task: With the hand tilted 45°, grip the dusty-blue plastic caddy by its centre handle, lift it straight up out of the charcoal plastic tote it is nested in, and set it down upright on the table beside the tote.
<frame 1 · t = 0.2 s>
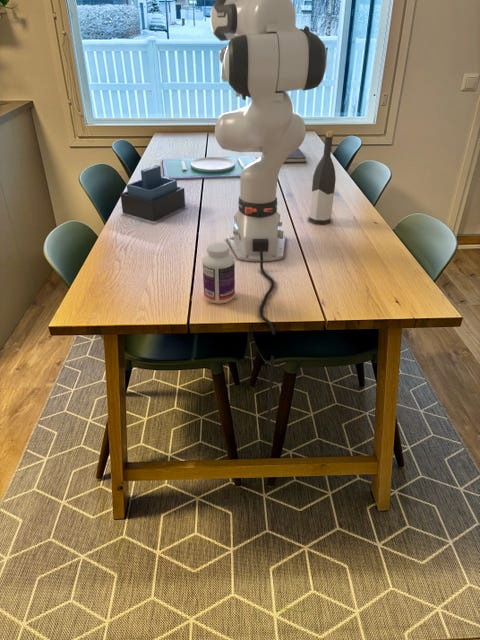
hand: (252, 96, 150), 39 cm above the table, tool pointing down, fingers open, 8 cm apart
tote: (154, 211, 172), on the table
wine bottle: (319, 220, 167), on the table
pill bottle: (219, 297, 123), on the table
place mat: (212, 168, 218), on the table
caddy: (154, 209, 171), point 1 cm above the table, touching tote
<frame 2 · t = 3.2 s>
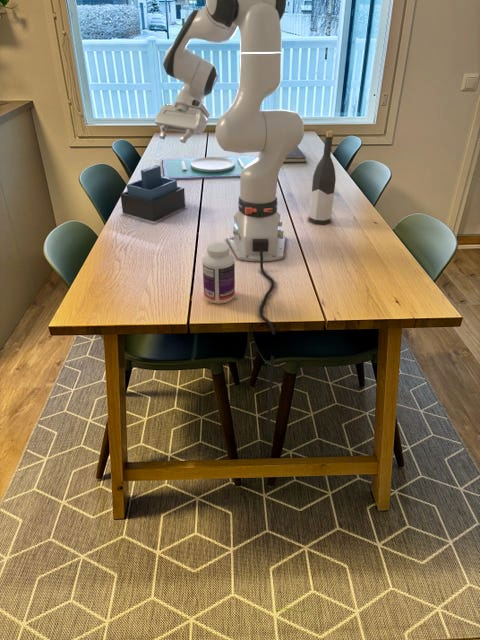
hand: (171, 140, 168), 23 cm above the table, tool tilted 45°, fingers open, 8 cm apart
nothing on the table moved.
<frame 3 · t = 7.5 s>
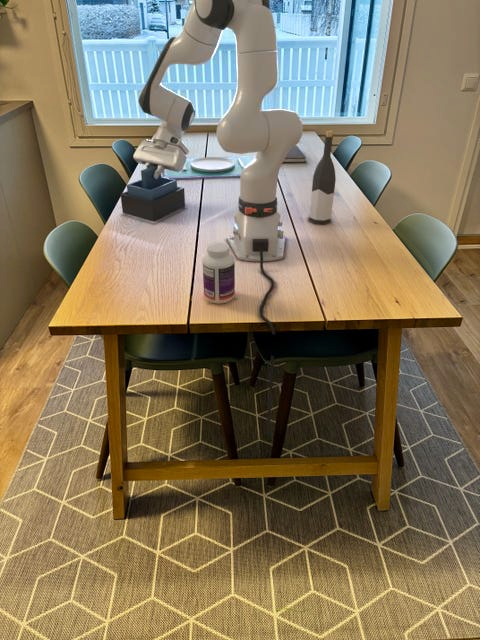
hand: (150, 177, 164), 13 cm above the table, tool tilted 45°, fingers closed on caddy
caddy: (154, 209, 171), point 1 cm above the table, touching gripper, tote
everything else where it was.
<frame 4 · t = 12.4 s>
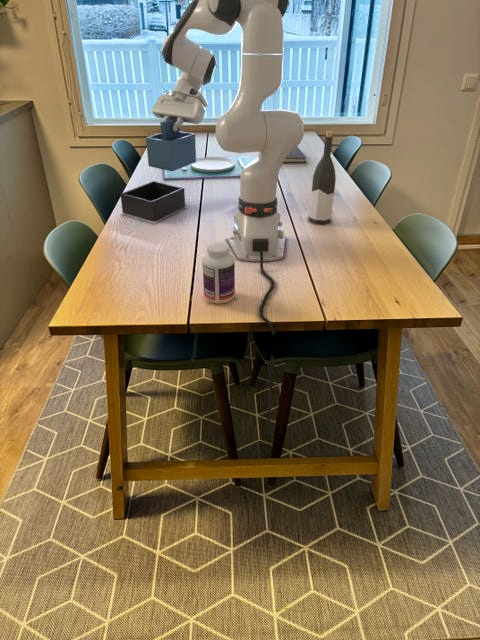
hand: (169, 129, 165), 26 cm above the table, tool tilted 45°, fingers closed on caddy
caddy: (172, 164, 172), point 14 cm above the table, touching gripper
everything else where it was.
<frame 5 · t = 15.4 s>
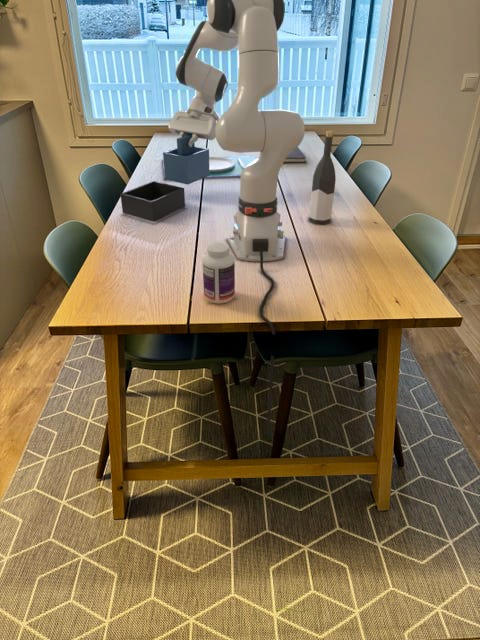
hand: (184, 145, 174), 20 cm above the table, tool tilted 45°, fingers closed on caddy
caddy: (187, 177, 182), point 8 cm above the table, touching gripper
everything else where it was.
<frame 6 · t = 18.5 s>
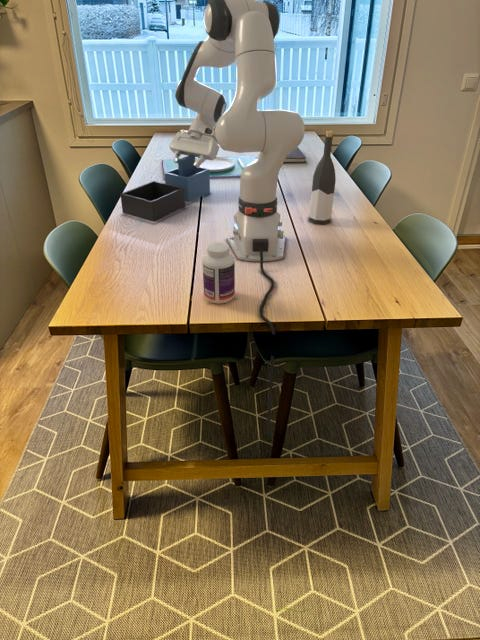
hand: (185, 165, 178), 12 cm above the table, tool tilted 45°, fingers open, 8 cm apart
caddy: (188, 196, 186), on the table
everything else where it was.
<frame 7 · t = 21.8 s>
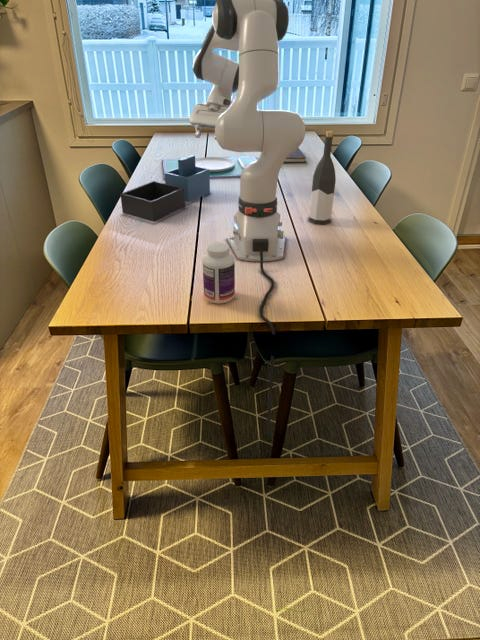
hand: (207, 138, 182), 20 cm above the table, tool tilted 40°, fingers open, 8 cm apart
nothing on the table moved.
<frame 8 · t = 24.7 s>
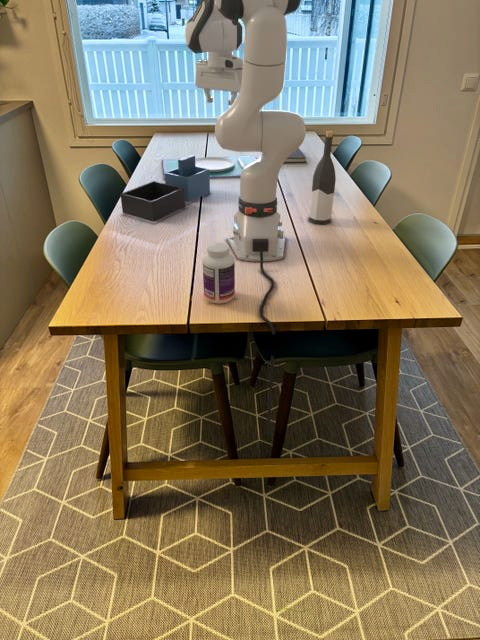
hand: (220, 103, 171), 33 cm above the table, tool pointing down, fingers open, 8 cm apart
nothing on the table moved.
at the end: caddy inside the target area (0.2 cm from its centre), on the table; caddy tilted 0°; caddy touching table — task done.
